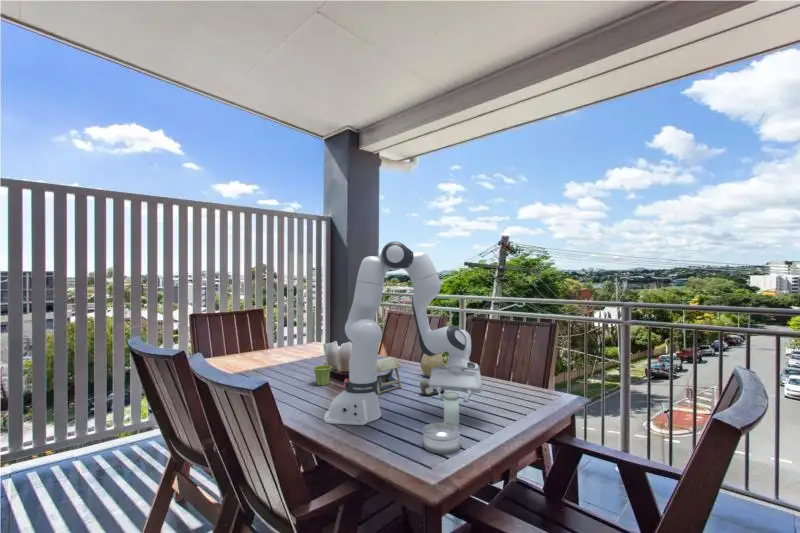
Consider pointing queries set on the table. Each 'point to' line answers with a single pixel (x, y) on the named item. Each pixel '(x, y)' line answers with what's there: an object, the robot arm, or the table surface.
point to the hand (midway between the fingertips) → (452, 400)
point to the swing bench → (387, 379)
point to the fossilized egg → (431, 363)
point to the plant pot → (322, 374)
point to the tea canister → (451, 408)
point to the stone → (427, 388)
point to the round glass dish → (441, 438)
